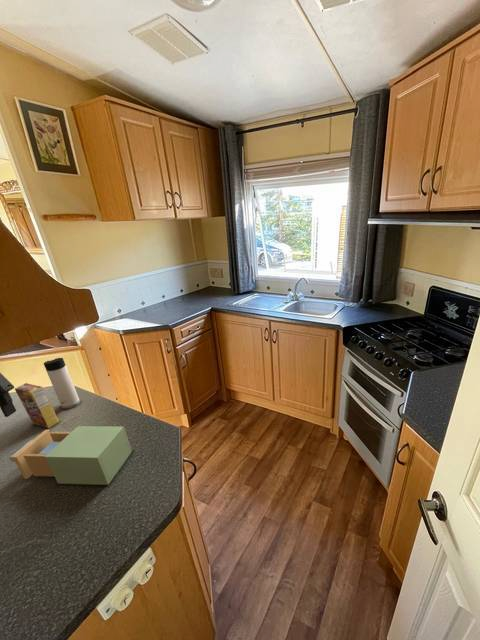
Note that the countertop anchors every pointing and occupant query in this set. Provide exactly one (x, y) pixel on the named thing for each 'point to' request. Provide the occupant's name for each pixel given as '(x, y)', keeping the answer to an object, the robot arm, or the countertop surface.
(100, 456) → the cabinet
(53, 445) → the block
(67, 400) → the travel mug
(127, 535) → the countertop surface
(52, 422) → the candy box
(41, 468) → the drawer
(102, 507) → the countertop surface
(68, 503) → the countertop surface
